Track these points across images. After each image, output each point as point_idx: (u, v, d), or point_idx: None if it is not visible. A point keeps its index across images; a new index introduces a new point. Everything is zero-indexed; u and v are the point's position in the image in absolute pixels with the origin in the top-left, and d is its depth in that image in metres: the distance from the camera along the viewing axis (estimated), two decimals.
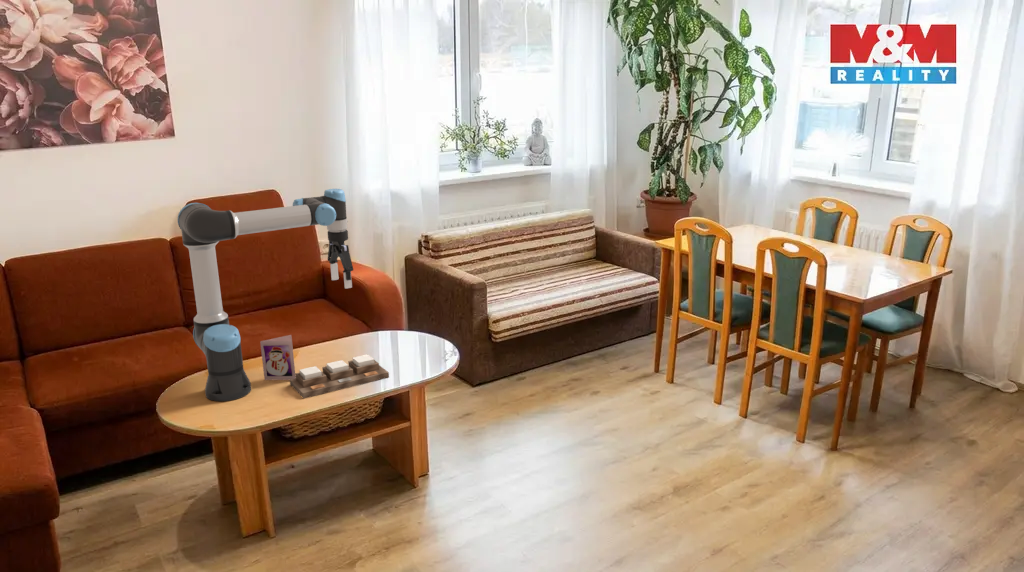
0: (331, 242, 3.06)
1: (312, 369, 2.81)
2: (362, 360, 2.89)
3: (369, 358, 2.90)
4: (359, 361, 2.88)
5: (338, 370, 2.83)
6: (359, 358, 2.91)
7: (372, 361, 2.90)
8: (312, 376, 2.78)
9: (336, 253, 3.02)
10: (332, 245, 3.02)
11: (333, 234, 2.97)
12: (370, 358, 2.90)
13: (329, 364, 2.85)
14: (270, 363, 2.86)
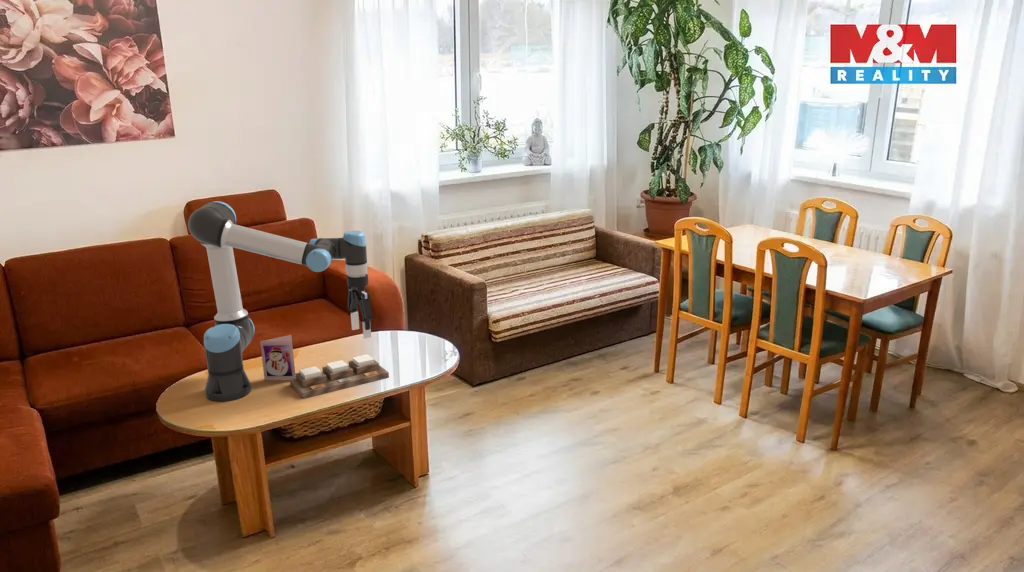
0: (350, 288, 2.87)
1: (312, 369, 2.81)
2: (362, 360, 2.89)
3: (369, 358, 2.90)
4: (359, 361, 2.88)
5: (338, 370, 2.83)
6: (359, 358, 2.91)
7: (372, 361, 2.90)
8: (312, 376, 2.78)
9: (356, 299, 2.84)
10: (351, 290, 2.83)
11: (353, 279, 2.78)
12: (370, 358, 2.90)
13: (329, 364, 2.85)
14: (270, 363, 2.86)
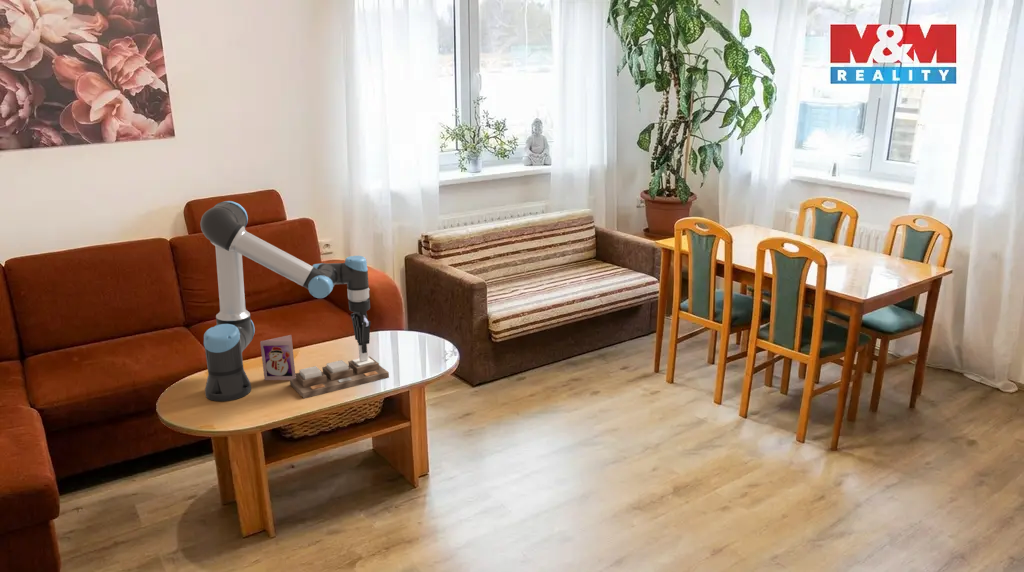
0: (353, 315, 2.90)
1: (312, 369, 2.81)
2: (362, 362, 2.89)
3: (369, 360, 2.91)
4: (359, 363, 2.88)
5: (338, 370, 2.83)
6: (359, 360, 2.91)
7: (372, 363, 2.90)
8: (312, 376, 2.78)
9: None
10: (353, 315, 2.86)
11: (355, 304, 2.81)
12: (370, 360, 2.91)
13: (329, 364, 2.85)
14: (270, 363, 2.86)
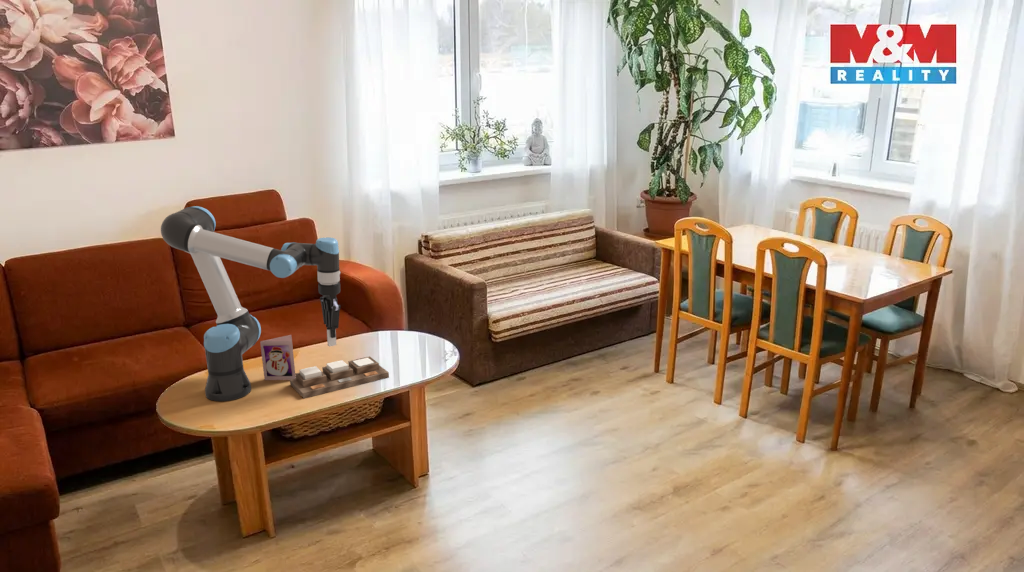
0: (322, 299, 2.82)
1: (312, 369, 2.81)
2: (362, 363, 2.89)
3: (369, 361, 2.91)
4: (359, 364, 2.88)
5: (338, 370, 2.83)
6: (359, 361, 2.91)
7: None
8: (312, 376, 2.78)
9: None
10: (322, 298, 2.78)
11: (324, 287, 2.73)
12: (370, 361, 2.91)
13: (329, 364, 2.85)
14: (270, 363, 2.86)
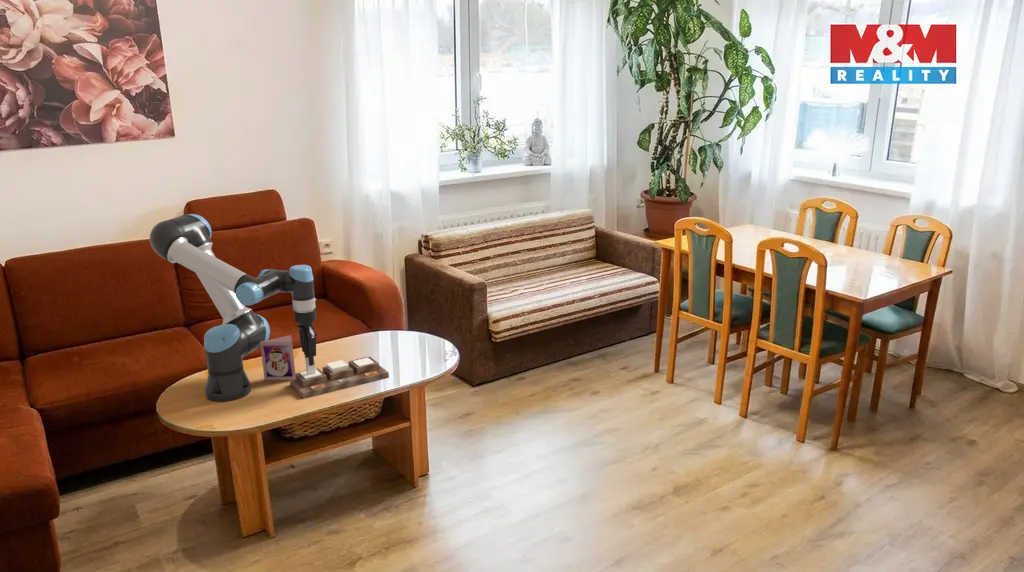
0: None
1: None
2: (362, 363, 2.89)
3: (369, 361, 2.91)
4: (359, 364, 2.88)
5: (338, 370, 2.83)
6: (359, 361, 2.91)
7: None
8: None
9: None
10: (299, 326, 2.76)
11: (300, 315, 2.71)
12: (370, 361, 2.91)
13: (329, 364, 2.85)
14: (270, 363, 2.86)
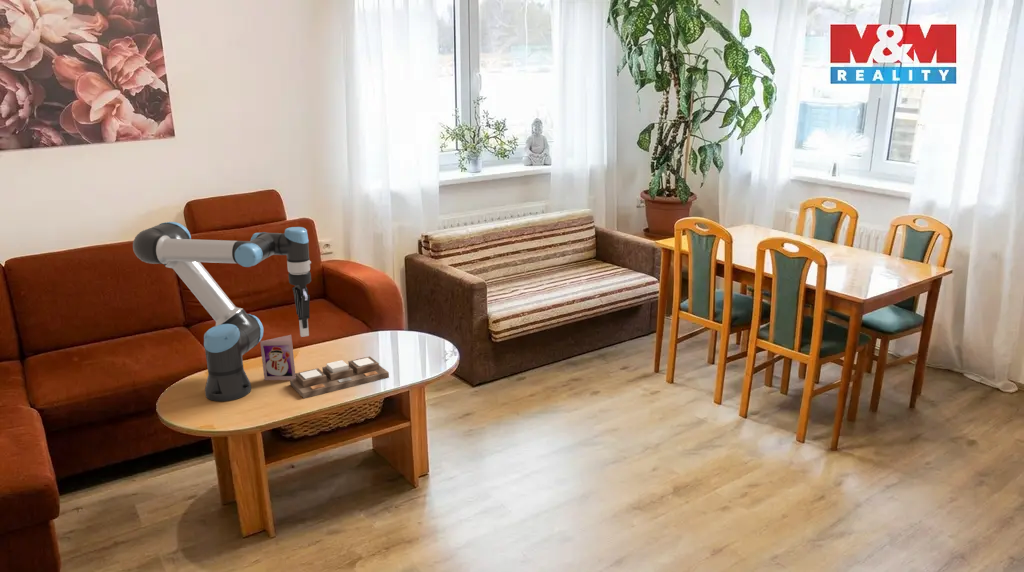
0: None
1: (312, 372, 2.81)
2: (362, 363, 2.89)
3: (369, 361, 2.91)
4: (359, 364, 2.88)
5: (338, 370, 2.83)
6: (359, 361, 2.91)
7: None
8: None
9: None
10: (293, 288, 2.77)
11: (294, 277, 2.71)
12: (370, 361, 2.91)
13: (329, 364, 2.85)
14: (270, 363, 2.86)
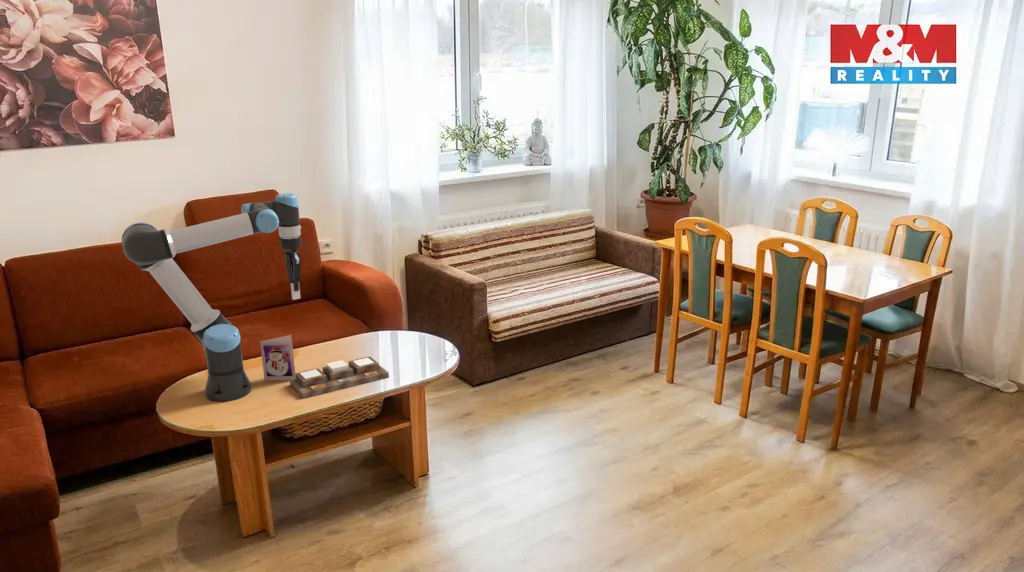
0: None
1: (312, 372, 2.81)
2: (362, 363, 2.89)
3: (369, 361, 2.91)
4: (359, 364, 2.88)
5: (338, 370, 2.83)
6: (359, 361, 2.91)
7: None
8: None
9: None
10: (285, 252, 2.89)
11: (285, 241, 2.84)
12: (370, 361, 2.91)
13: (329, 364, 2.85)
14: (270, 363, 2.86)
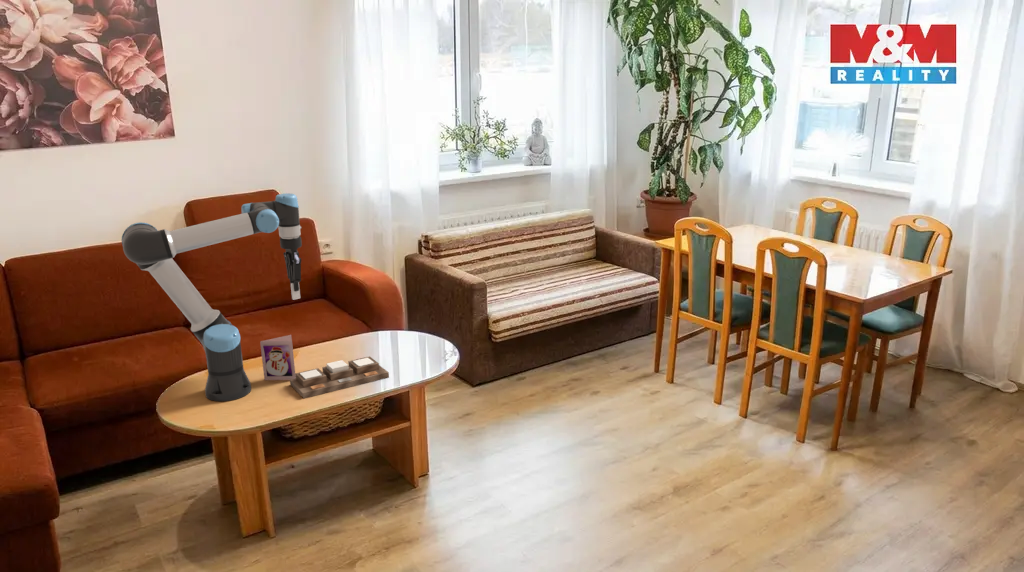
0: None
1: (312, 372, 2.81)
2: (362, 363, 2.89)
3: (369, 361, 2.91)
4: (359, 364, 2.88)
5: (338, 370, 2.83)
6: (359, 361, 2.91)
7: None
8: None
9: None
10: (285, 252, 2.89)
11: (285, 241, 2.84)
12: (370, 361, 2.91)
13: (329, 364, 2.85)
14: (270, 363, 2.86)
